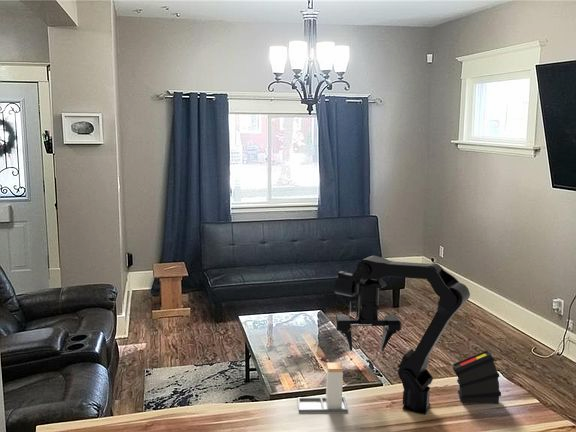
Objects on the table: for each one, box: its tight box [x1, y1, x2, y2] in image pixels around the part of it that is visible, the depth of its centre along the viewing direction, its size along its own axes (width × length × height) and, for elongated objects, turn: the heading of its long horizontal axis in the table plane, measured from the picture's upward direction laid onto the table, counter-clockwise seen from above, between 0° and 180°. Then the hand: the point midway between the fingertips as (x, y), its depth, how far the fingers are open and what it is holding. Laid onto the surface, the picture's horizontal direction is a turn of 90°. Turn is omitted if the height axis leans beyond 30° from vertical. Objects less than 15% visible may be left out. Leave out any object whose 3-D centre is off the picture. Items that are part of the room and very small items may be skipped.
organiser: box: [296, 396, 349, 414], centre depth 162 cm, size 14×7×2 cm, turn 92°
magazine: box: [452, 350, 502, 405], centre depth 167 cm, size 4×13×15 cm, turn 88°
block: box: [325, 362, 344, 409], centre depth 161 cm, size 4×4×12 cm
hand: (366, 350), depth 170 cm, fingers open, 9 cm apart
